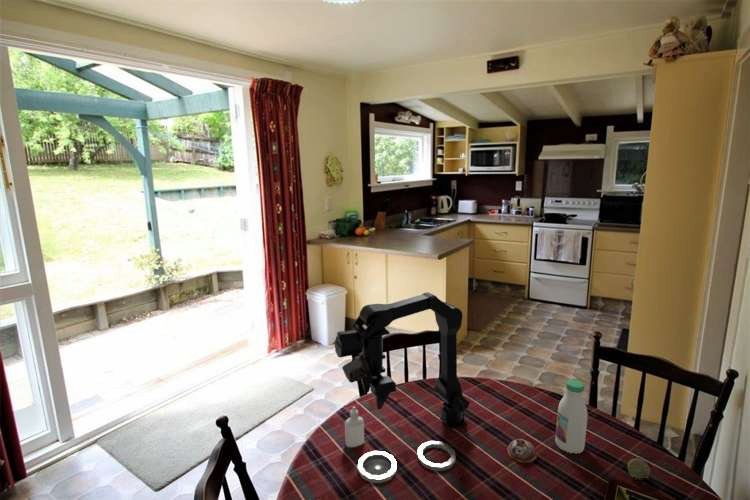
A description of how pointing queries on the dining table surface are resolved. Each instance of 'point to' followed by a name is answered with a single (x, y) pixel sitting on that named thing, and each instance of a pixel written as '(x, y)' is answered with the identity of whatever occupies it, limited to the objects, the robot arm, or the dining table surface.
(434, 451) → the dining table surface
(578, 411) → the milk bottle
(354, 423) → the eye dropper bottle
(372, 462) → the collar
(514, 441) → the pastry
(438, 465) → the collar
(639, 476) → the lime
